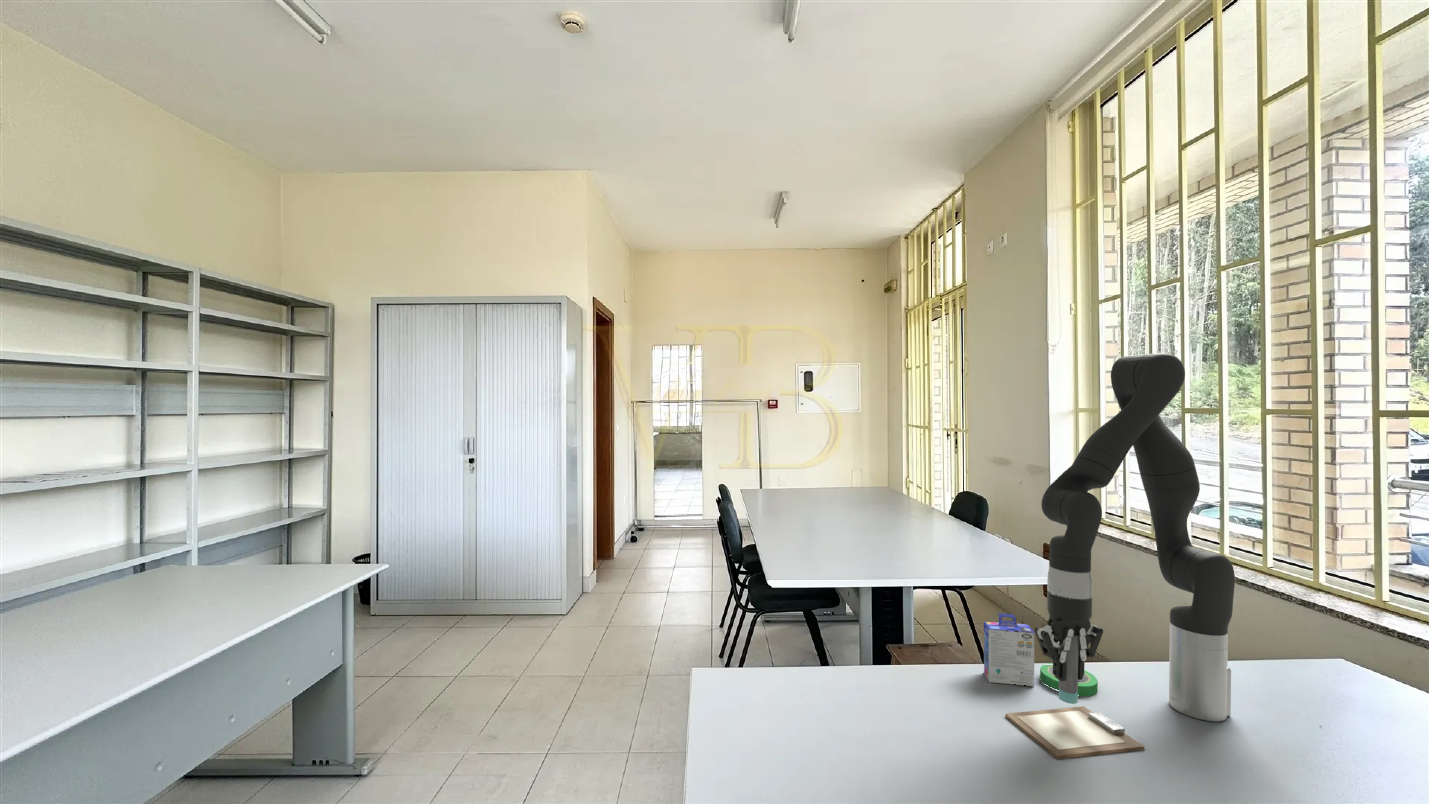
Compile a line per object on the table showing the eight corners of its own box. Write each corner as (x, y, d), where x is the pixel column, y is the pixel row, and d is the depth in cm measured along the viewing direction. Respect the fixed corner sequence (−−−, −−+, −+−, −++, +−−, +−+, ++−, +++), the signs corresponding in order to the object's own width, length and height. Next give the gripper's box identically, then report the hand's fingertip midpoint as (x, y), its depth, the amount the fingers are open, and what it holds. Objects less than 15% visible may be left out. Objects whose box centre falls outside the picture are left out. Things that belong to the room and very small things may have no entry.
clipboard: (1083, 709, 120) (1083, 701, 120) (1144, 749, 106) (1144, 740, 106) (1005, 716, 117) (1005, 708, 117) (1057, 759, 103) (1057, 750, 103)
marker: (1069, 694, 116) (1069, 629, 116) (1081, 703, 113) (1082, 636, 113) (1054, 696, 115) (1055, 630, 115) (1067, 704, 112) (1068, 637, 112)
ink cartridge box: (1027, 676, 135) (1028, 613, 134) (1036, 687, 129) (1036, 622, 129) (982, 671, 137) (982, 610, 136) (988, 683, 131) (988, 619, 131)
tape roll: (1093, 679, 134) (1093, 668, 134) (1101, 702, 124) (1102, 690, 124) (1038, 670, 138) (1038, 659, 138) (1042, 691, 128) (1042, 679, 128)
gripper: (1085, 583, 119) (1084, 667, 119) (1023, 586, 116) (1022, 672, 116) (1117, 595, 111) (1115, 685, 111) (1051, 599, 109) (1050, 690, 109)
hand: (1068, 678), depth 114 cm, fingers closed on marker, 3 cm apart
